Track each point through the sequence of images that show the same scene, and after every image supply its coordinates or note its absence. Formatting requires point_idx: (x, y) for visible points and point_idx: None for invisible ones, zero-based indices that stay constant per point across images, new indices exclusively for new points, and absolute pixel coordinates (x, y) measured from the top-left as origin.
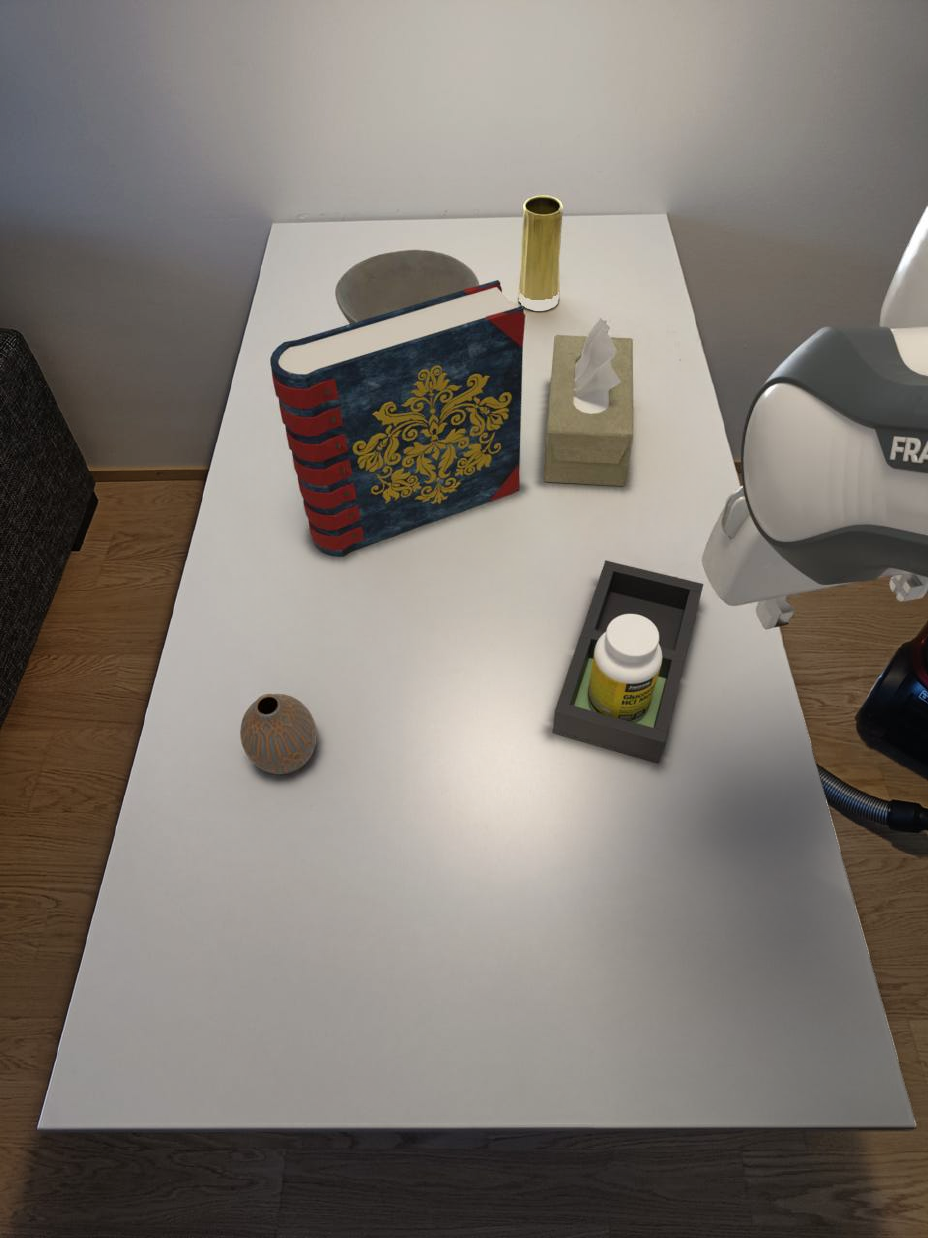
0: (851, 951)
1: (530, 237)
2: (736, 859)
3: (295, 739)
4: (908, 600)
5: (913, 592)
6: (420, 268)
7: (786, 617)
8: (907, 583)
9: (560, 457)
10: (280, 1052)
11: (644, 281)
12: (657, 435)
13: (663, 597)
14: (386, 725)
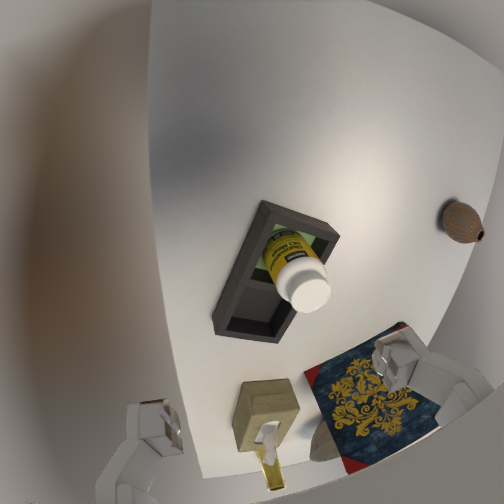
0: (151, 59)
1: (281, 476)
2: (219, 124)
3: (466, 217)
4: (151, 401)
5: (153, 422)
6: (328, 453)
7: (400, 353)
8: (169, 439)
9: (287, 395)
10: (463, 70)
11: (213, 460)
12: (218, 407)
13: (238, 322)
14: (409, 228)
